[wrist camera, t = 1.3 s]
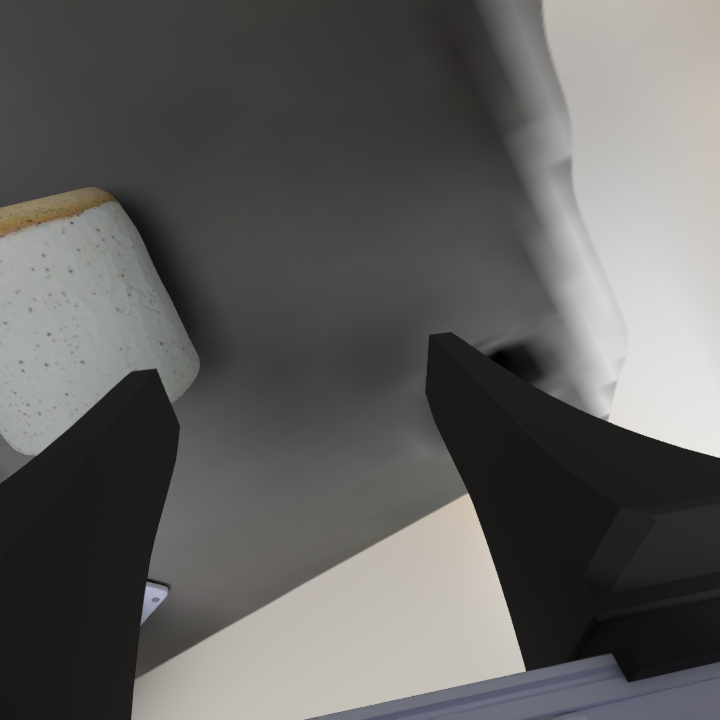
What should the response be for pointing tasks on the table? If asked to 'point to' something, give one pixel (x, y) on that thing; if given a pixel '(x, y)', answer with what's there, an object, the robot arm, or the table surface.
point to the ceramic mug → (78, 314)
